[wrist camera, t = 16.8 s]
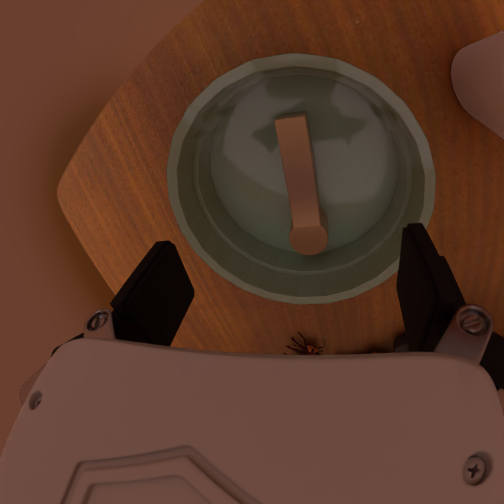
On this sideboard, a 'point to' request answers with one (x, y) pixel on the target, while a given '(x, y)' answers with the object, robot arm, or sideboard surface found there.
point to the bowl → (274, 184)
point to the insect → (307, 351)
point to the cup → (482, 81)
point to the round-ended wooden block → (301, 184)
